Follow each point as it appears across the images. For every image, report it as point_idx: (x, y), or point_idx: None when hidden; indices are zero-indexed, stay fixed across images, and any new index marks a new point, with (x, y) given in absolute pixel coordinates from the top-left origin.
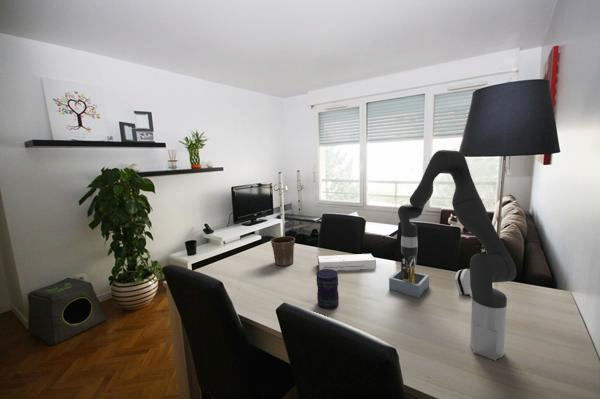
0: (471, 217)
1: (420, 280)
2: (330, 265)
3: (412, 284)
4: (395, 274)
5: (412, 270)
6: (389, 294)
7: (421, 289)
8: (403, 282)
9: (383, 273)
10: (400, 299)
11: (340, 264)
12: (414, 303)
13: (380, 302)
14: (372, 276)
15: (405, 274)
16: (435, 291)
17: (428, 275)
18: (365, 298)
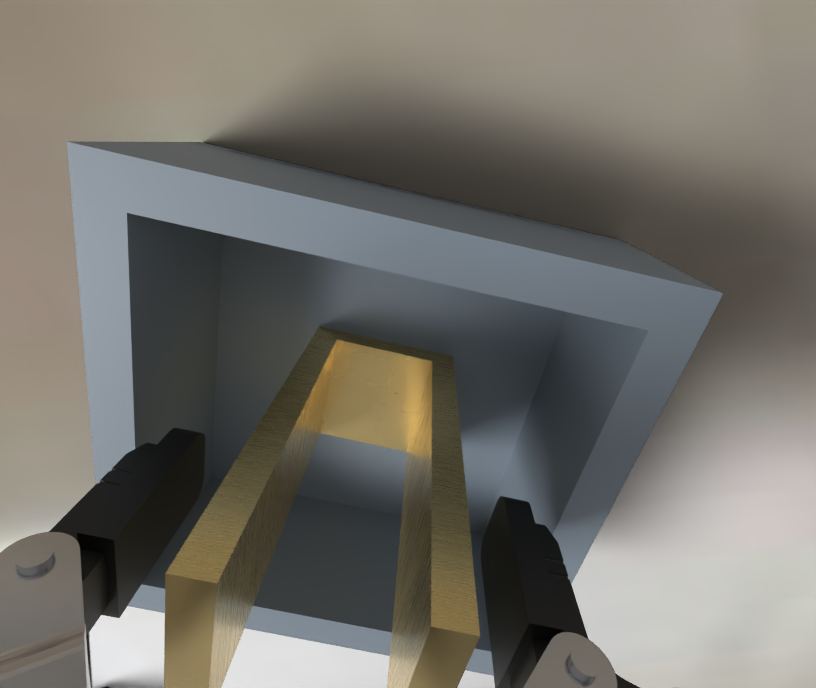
0: None
1: (194, 280)
2: None
3: (662, 402)
4: (359, 634)
5: (260, 521)
6: (612, 526)
7: (542, 233)
8: (595, 521)
9: (152, 622)
10: (704, 425)
11: None
12: (781, 276)
13: (807, 567)
14: (278, 680)
15: (571, 616)
16: (311, 24)
17: (79, 154)
18: (746, 664)
